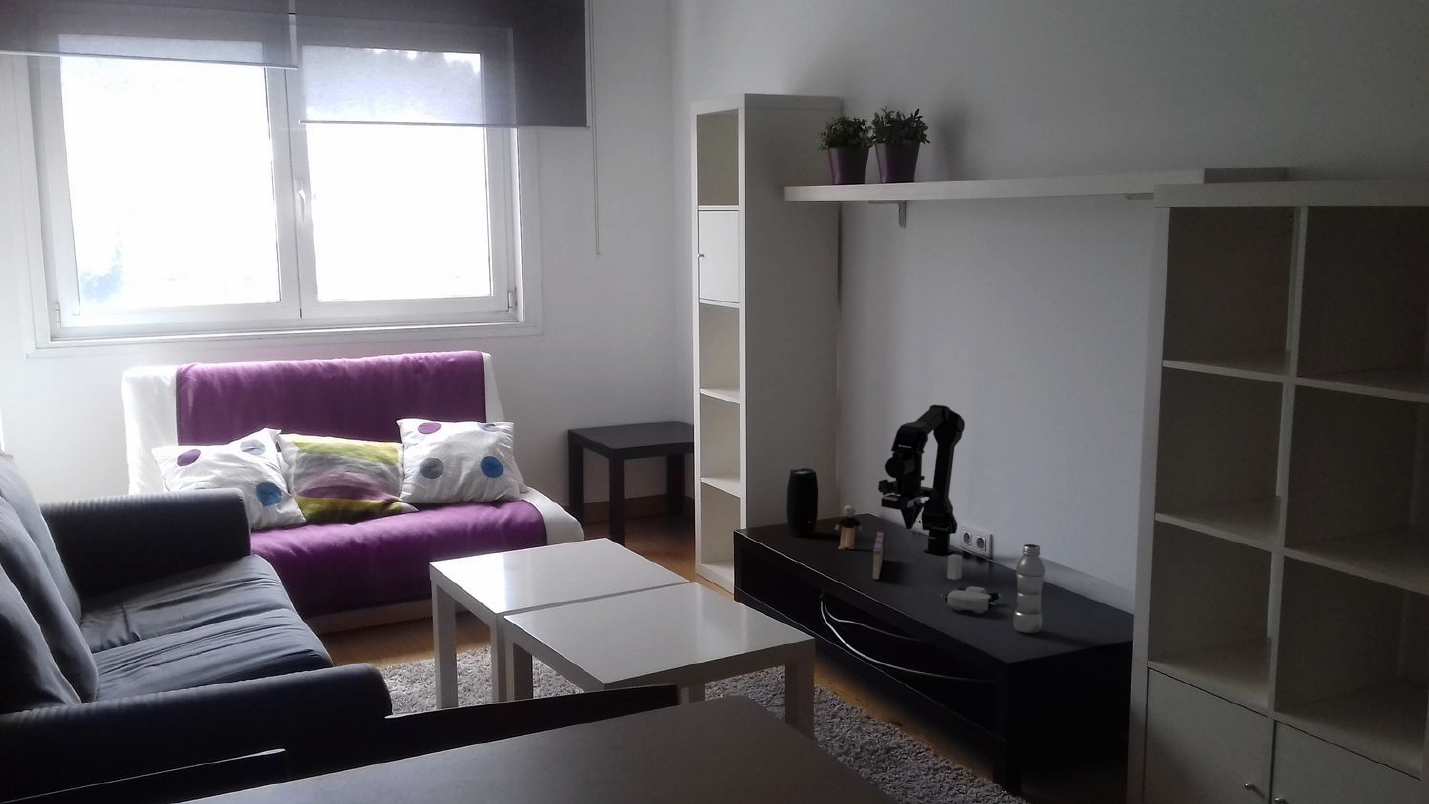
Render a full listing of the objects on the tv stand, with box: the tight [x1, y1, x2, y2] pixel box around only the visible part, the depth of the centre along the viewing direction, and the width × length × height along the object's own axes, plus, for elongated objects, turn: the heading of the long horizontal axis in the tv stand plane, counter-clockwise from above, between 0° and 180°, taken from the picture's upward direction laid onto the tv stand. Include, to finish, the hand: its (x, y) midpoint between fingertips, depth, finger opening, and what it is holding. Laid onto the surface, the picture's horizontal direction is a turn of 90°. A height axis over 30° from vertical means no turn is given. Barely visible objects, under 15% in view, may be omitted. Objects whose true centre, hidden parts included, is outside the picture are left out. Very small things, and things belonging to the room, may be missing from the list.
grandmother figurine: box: [834, 505, 863, 550], centre depth 346 cm, size 8×4×13 cm, turn 92°
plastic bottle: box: [1012, 543, 1046, 634], centre depth 273 cm, size 6×7×20 cm
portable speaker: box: [785, 467, 819, 538], centre depth 361 cm, size 9×9×20 cm
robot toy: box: [940, 586, 1003, 615], centre depth 292 cm, size 12×4×15 cm
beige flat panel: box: [872, 530, 886, 580], centre depth 324 cm, size 22×2×8 cm, turn 169°
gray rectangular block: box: [946, 553, 963, 581], centre depth 317 cm, size 3×2×6 cm
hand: (908, 529), depth 325 cm, fingers closed
